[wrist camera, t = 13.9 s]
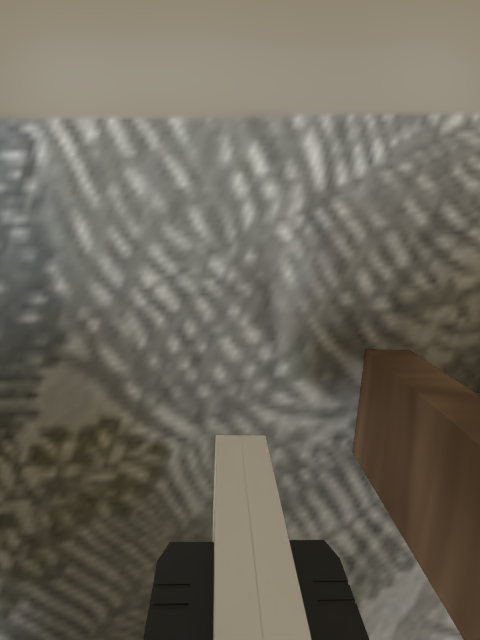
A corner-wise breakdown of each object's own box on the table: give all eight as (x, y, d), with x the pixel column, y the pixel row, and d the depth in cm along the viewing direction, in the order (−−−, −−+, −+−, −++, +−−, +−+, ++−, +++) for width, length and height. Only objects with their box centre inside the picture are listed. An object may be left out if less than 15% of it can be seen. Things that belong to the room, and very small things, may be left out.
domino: (352, 452, 18) (503, 705, 9) (365, 349, 17) (555, 509, 8) (396, 452, 19) (593, 703, 9) (412, 350, 17) (658, 509, 8)
